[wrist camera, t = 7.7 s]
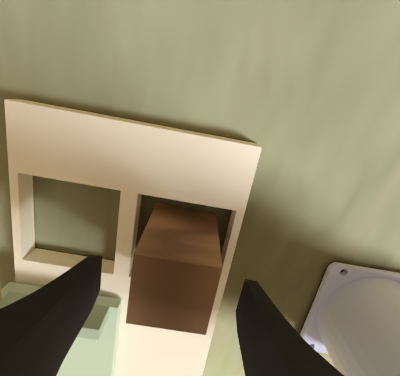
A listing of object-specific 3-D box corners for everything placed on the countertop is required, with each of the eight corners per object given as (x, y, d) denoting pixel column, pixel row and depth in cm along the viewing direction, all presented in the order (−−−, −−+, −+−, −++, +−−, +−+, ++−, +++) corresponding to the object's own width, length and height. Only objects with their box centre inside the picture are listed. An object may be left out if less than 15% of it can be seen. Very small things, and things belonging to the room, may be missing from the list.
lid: (121, 298, 18) (108, 331, 15) (113, 375, 20) (101, 414, 18) (9, 281, 17) (-23, 312, 15) (15, 361, 20) (-12, 399, 17)
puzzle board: (256, 143, 16) (261, 147, 14) (198, 373, 22) (197, 391, 21) (21, 99, 15) (4, 99, 14) (32, 350, 21) (20, 366, 20)
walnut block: (215, 212, 17) (222, 268, 12) (204, 262, 19) (205, 335, 13) (156, 202, 17) (133, 254, 11) (149, 253, 18) (125, 323, 13)
